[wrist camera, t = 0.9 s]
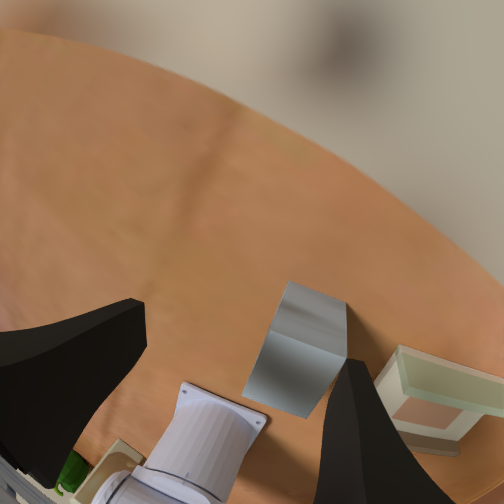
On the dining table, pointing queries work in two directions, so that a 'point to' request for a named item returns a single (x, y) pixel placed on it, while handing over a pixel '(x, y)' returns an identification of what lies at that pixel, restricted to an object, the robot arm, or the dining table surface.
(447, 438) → the open-front display tray
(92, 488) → the skincare box
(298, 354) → the slate cabinet block
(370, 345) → the dining table surface
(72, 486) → the bell pepper
